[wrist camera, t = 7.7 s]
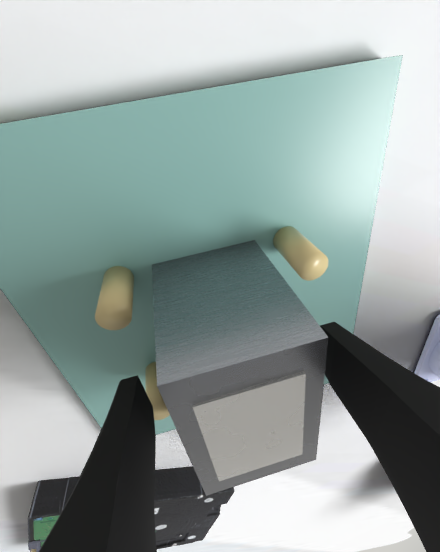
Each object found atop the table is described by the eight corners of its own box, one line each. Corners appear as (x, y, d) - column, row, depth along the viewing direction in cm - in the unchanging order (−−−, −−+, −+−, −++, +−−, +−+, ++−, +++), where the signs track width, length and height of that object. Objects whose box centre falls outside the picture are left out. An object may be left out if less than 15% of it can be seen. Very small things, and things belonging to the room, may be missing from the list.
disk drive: (227, 453, 25) (36, 474, 20) (236, 489, 23) (23, 523, 18) (199, 507, 30) (39, 534, 25) (204, 541, 28) (29, 579, 23)
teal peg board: (382, 57, 11) (472, 44, 8) (337, 366, 21) (368, 410, 18) (-83, 137, 9) (-192, 158, 6) (116, 431, 19) (111, 492, 16)
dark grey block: (254, 240, 12) (330, 339, 7) (263, 348, 16) (317, 461, 11) (151, 264, 12) (157, 389, 7) (186, 370, 16) (206, 498, 11)
